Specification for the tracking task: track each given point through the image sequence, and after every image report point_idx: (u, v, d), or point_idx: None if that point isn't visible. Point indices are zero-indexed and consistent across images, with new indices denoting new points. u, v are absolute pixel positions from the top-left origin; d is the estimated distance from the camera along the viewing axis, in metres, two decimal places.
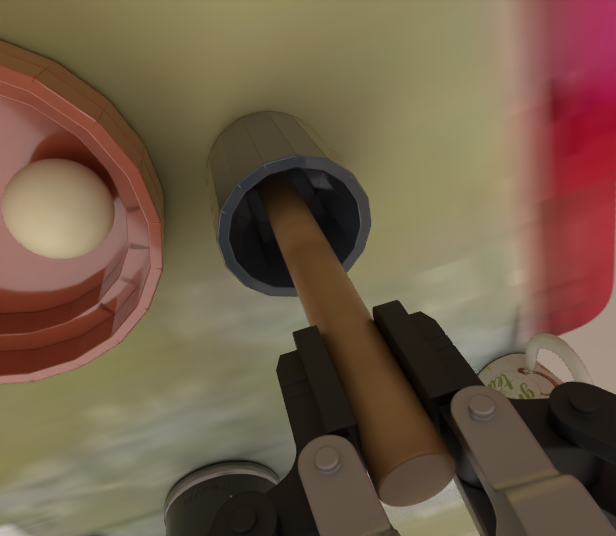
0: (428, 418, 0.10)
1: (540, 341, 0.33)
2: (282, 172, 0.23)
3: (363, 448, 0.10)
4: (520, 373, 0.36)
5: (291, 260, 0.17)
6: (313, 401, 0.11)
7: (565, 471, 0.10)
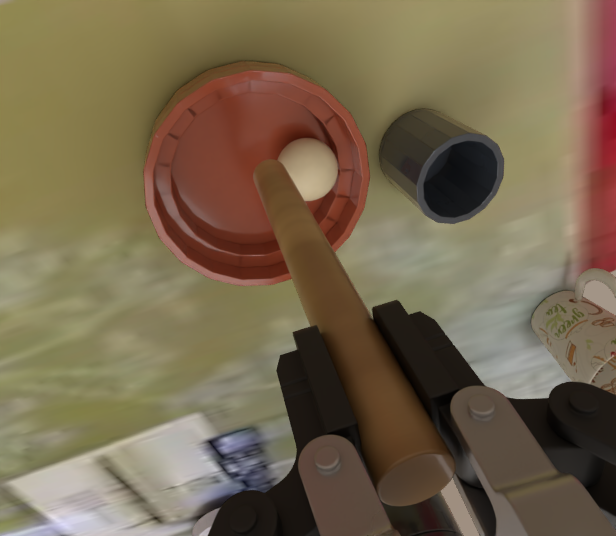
0: (428, 417, 0.10)
1: (588, 274, 0.45)
2: (282, 171, 0.23)
3: (363, 447, 0.10)
4: (571, 302, 0.48)
5: (291, 259, 0.17)
6: (313, 401, 0.11)
7: (565, 471, 0.10)
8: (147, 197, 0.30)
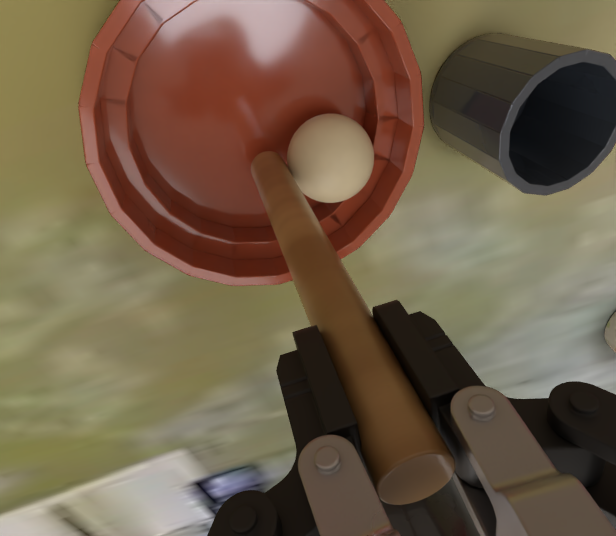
0: (421, 414, 0.10)
1: None
2: (276, 163, 0.22)
3: (362, 453, 0.10)
4: None
5: (288, 259, 0.17)
6: (313, 401, 0.11)
7: (565, 471, 0.10)
8: (87, 149, 0.20)
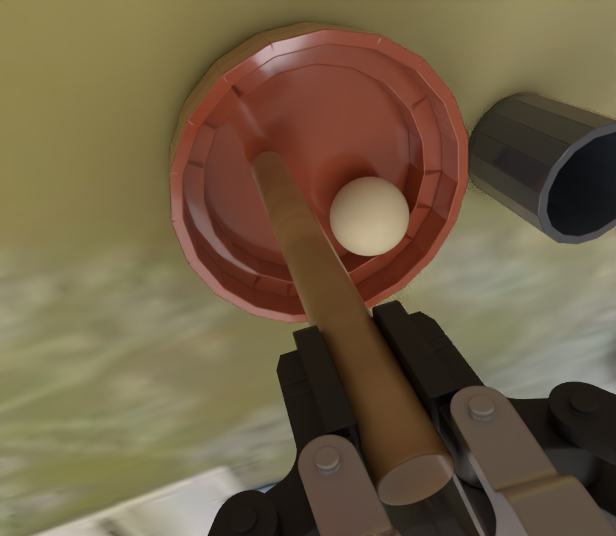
0: (421, 415, 0.10)
1: None
2: (276, 163, 0.22)
3: (361, 454, 0.10)
4: None
5: (288, 260, 0.17)
6: (313, 401, 0.11)
7: (565, 471, 0.10)
8: (174, 208, 0.22)
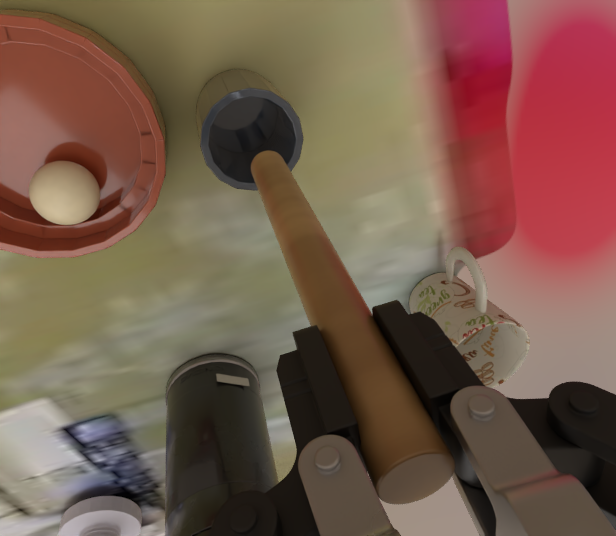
0: (421, 414, 0.10)
1: (452, 253, 0.43)
2: (276, 162, 0.22)
3: (361, 452, 0.10)
4: (442, 284, 0.46)
5: (288, 259, 0.17)
6: (313, 401, 0.11)
7: (565, 471, 0.10)
8: None
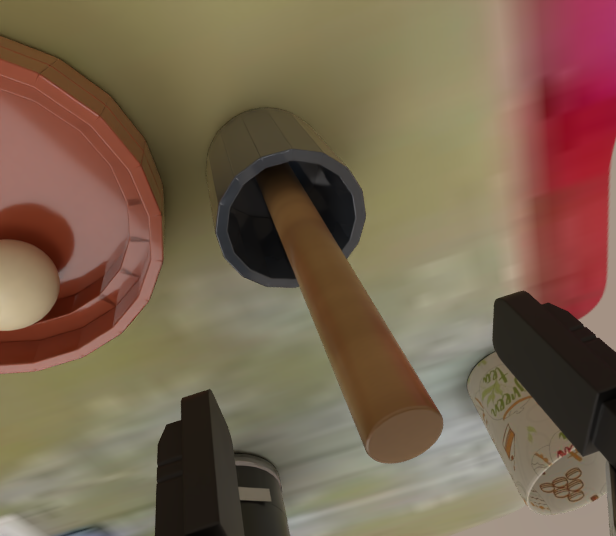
0: (410, 375, 0.11)
1: None
2: None
3: (352, 413, 0.11)
4: None
5: (285, 242, 0.17)
6: None
7: None
8: None
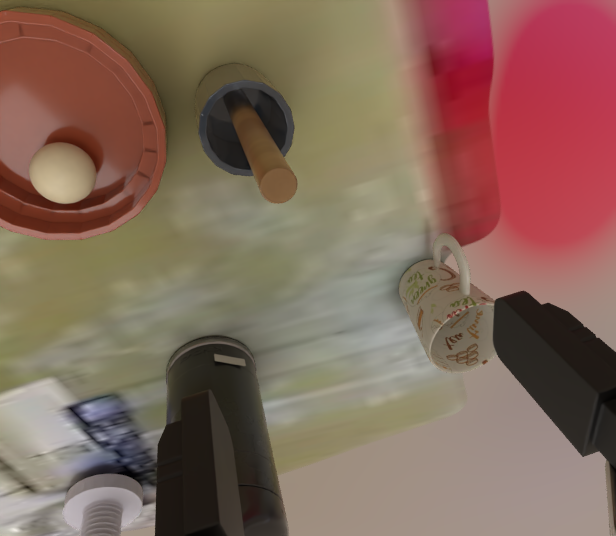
0: (283, 162, 0.23)
1: (438, 240, 0.45)
2: (239, 93, 0.35)
3: (257, 182, 0.23)
4: (429, 269, 0.48)
5: (238, 132, 0.29)
6: None
7: None
8: None
